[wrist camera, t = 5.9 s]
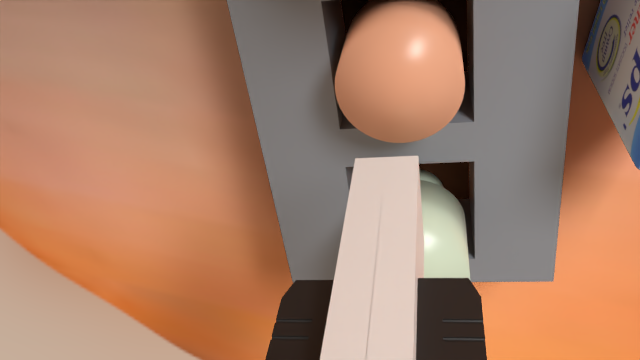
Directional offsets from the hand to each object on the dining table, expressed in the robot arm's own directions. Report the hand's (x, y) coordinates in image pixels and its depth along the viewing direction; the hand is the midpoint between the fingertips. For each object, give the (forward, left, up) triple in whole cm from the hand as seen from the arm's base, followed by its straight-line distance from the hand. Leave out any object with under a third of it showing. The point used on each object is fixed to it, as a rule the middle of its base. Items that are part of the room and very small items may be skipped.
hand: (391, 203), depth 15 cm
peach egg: (0, 0, -12) cm, 12 cm away
